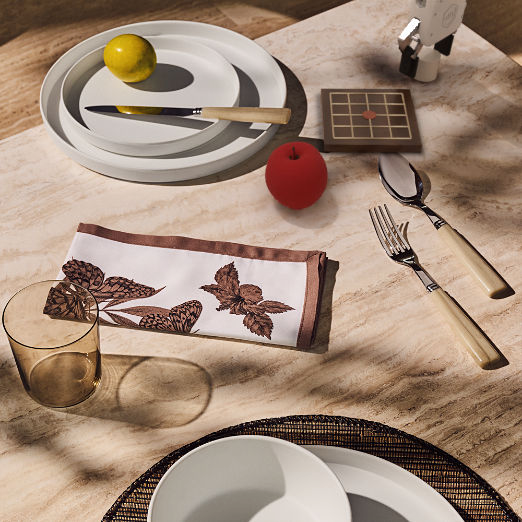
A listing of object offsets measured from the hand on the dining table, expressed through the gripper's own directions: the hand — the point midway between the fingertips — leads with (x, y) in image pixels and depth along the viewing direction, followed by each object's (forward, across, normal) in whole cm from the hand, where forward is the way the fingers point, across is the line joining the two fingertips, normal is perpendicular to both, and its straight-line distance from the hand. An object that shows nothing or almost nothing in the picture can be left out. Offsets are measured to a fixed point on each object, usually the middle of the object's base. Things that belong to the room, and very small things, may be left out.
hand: (424, 63), depth 119 cm
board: (+2, -18, -2) cm, 18 cm away
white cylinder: (+2, 0, 0) cm, 2 cm away
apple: (+2, -39, -7) cm, 40 cm away
